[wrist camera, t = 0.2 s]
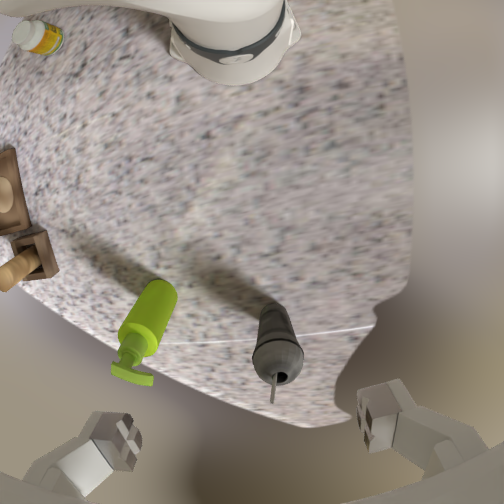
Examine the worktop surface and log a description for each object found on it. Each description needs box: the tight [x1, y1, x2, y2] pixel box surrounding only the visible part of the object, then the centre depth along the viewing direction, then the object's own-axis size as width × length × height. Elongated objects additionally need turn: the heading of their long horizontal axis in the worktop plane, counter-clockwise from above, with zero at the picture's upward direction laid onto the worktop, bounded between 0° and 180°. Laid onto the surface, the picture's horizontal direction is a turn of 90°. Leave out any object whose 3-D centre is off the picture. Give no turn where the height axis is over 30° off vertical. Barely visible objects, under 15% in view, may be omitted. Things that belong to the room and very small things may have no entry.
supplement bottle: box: [12, 20, 64, 56], centre depth 31 cm, size 5×5×10 cm
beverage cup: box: [252, 304, 304, 404], centre depth 44 cm, size 7×7×20 cm
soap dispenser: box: [111, 280, 177, 386], centre depth 43 cm, size 6×7×20 cm
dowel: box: [0, 244, 42, 292], centre depth 44 cm, size 4×4×12 cm
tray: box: [0, 148, 32, 236], centre depth 44 cm, size 15×11×2 cm
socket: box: [10, 230, 59, 281], centre depth 48 cm, size 8×8×3 cm
